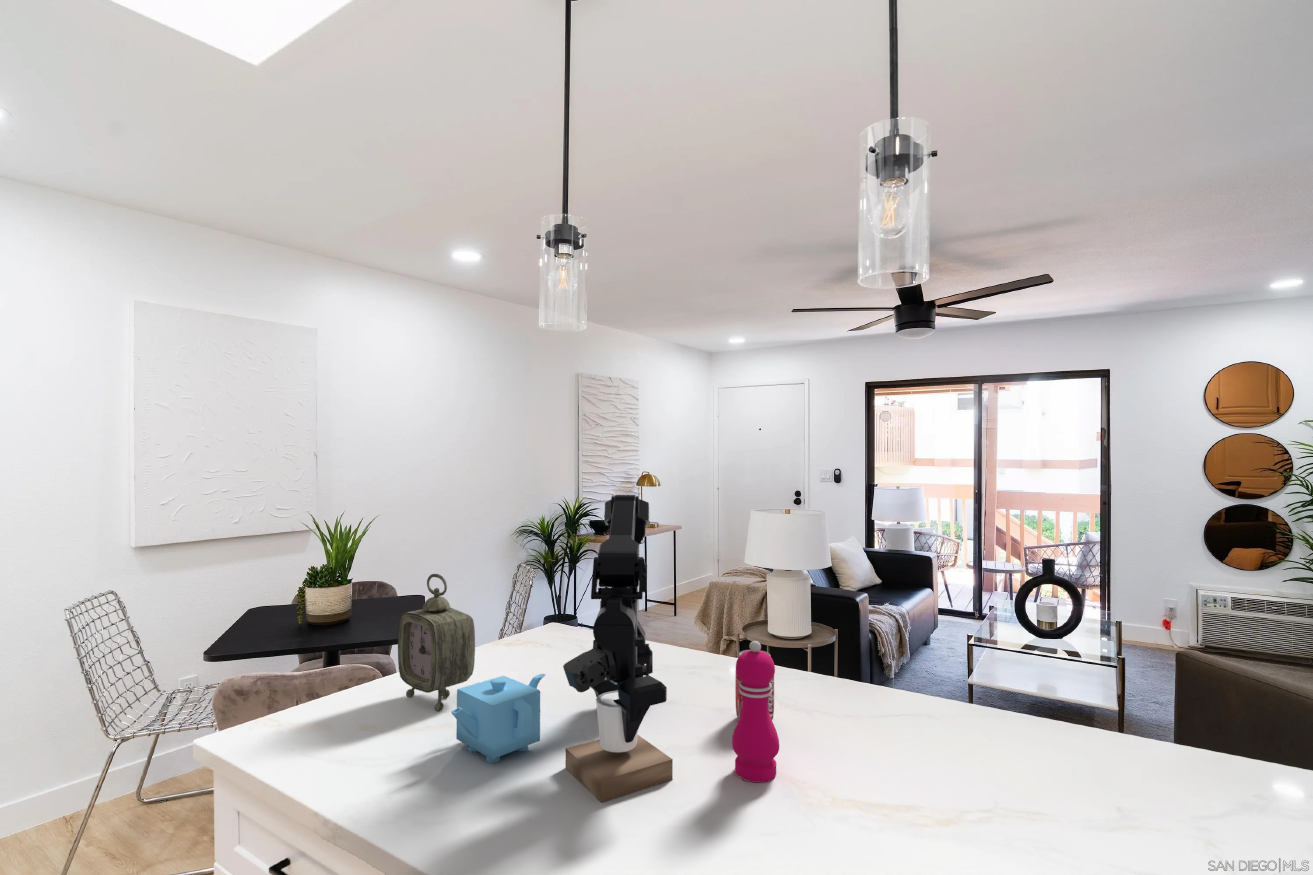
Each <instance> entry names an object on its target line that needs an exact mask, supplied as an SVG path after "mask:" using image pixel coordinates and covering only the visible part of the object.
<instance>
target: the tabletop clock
mask: <svg viewBox="0 0 1313 875" xmlns="http://www.w3.org/2000/svg"><path fill="white" fill-rule="evenodd" d="M432 578H438V579H439V580H440V581H442V583H443V586H444V588H443V591H441V592H440V588H439V587H435V588H434V589H432V587H431V586H430V581H431V580H432ZM447 584H448V583H447V581H446V578H444V577H443V576H442V575H441V574H439V573H432V574H430V575H429V576H428V578H427V580H426V587H427V590H428V591H429V593H430V594H431V595H433V596H431V597H429V598H428V599H427V600H425V602H424V603H423V606H422V609H417V610H411V611H407V612H403V613H401V614H400V618H399V621H398V623H399V624H398V630H397V631H398V633H397V634H398V637H397V665H398V671H399V678H400V679H401V680H402V681H403V682H404V683H405V684H407V685H408V686H410V687H411V688H409V689H407V690H406V693H405V696H406V697H407V698H413V697H414V695H415V690H417V691H420V692H423V693H432V692H436V691H437V693H438V696H437V702H436V703H435V704H434V710H435V711H436V712H441V711H443V709H444V703H442V700H443V699H442V698H444V699H448V698H449V696H450V695H451V692H450V690H449V689H447V688H449V687H452V686H455V685H459V684H462V683H465V682H467V681H468V680H469V679H470V677H471V676H472V675H473V674H474V673H473V672H474V671H475V670H474V669H475V660H476V658H475V656H476V631H475V630H476V628H475V623H474V618H472V616H471V615H469V614H468V613H466V612H465V613H464V612H463V611H460V610H458V609H455V608H453V607H451V605H450V602H449V601H448V600H447V599H446V597H443V596H444V595H445V594H446V593H447V589H448V585H447Z"/></svg>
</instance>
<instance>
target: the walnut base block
mask: <svg viewBox="0 0 1313 875" xmlns="http://www.w3.org/2000/svg"><path fill="white" fill-rule="evenodd" d="M673 760H674V759H673V758H672V757H670V756H669V755H667V754H666V753H665V752H663V751H661V750H660V749H658V748H657V747H656V746H655V745H654V744H651V743H650V742H649V741H648V740H646V738H643V737H642V736H640V735H639V734H638V735H637V744H636V747H634V748H633V749H632V750H629V751H626V752H610V751H606V750H604V749H603V748H601V746H600V739H599V738H598V739H595V740H591V741H588V742H583V743H580V744H576V745H573V746H569V747H565V769H566V770H567V771H568V772H569V773H571V775H572V776H574V777H575V778H576V780H578V781H579V782H580V783H581V784H582V786H584V788H586V789H587V790H588V791H589V792H590V793H591V794H592V795H593V797H595V798H596V799H597V800H598V801H599V802H600V803H604V802H607V801H611V800H613V799H617V798H619V797H623V796H626V795H629V794H633V793H635V792H638V791H642V790H644V789H648V788H651V787H654V786H657V785H661V784H663V783H666V782H669V781H672V780H673V770H674V769H673Z"/></svg>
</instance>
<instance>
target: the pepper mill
mask: <svg viewBox="0 0 1313 875" xmlns="http://www.w3.org/2000/svg"><path fill="white" fill-rule="evenodd" d="M748 646H749V649H748V650H749V651H746V652H744V653H742V654H741V655H740V656H739V655H738V657H737V660H736V662H735V674H736V673H737V676H738V677H739V678H740V680H741V681H740V682H739V686H740V688H739V692H740V693H741V694H742V711H741V716H740V718H738V721H737V722H736V726H735V727H734V728H733V731H732V732H733V733H732V737H731V748H732V750H733V752H734V753H735V754H736V757H735V758H734V759H735V760H734V772H735V774H736V775H737V776H738V777H739V778H741V779H742V780H745V781H748V782H753V783H765V782H770V781H772V780H773V779H774V778H775V777H776V776H777V762H776V759H775V757H777V755H778V753H779V751H780V738H779V734H778V732H777V729H776V727H775V724H774V722H773V719H771V717H770V713H769V706H768V700H769V696H770V695H771V694H772V691H771V688H772V685H771V683H770V681H771V680H772V678H773V677H774V678H775V673H776V666H775V662H774V660H773V658H772V657H771V655H770V656H769V655H768V654H767V653H768V652H767V653H765V652H766V651H765V652H763V651H764V650H762V645H761V643H760V642H759V641H758V640H753V641H751V642H750V643H749V645H748Z"/></svg>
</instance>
